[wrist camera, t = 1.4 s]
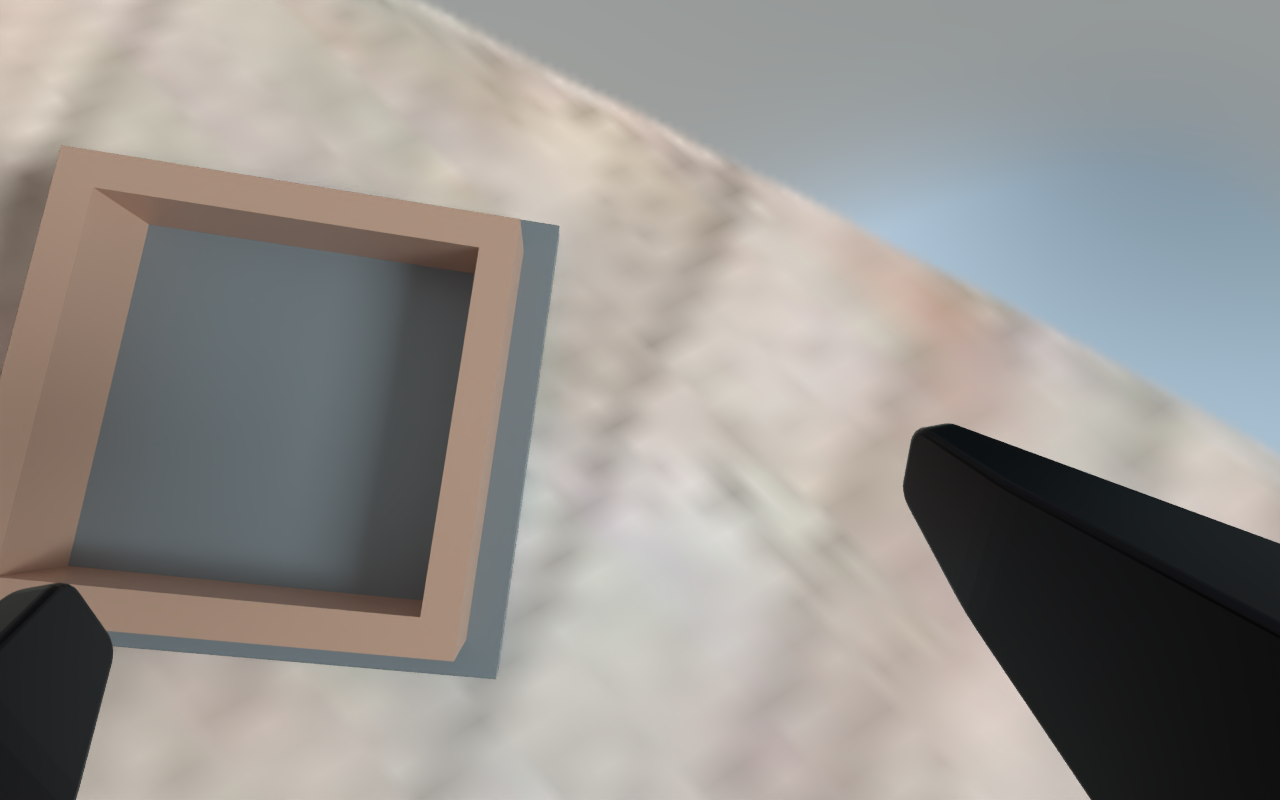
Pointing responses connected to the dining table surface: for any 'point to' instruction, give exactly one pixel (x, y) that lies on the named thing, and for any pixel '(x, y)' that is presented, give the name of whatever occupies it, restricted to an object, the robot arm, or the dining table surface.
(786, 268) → the dining table surface
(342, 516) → the dock
